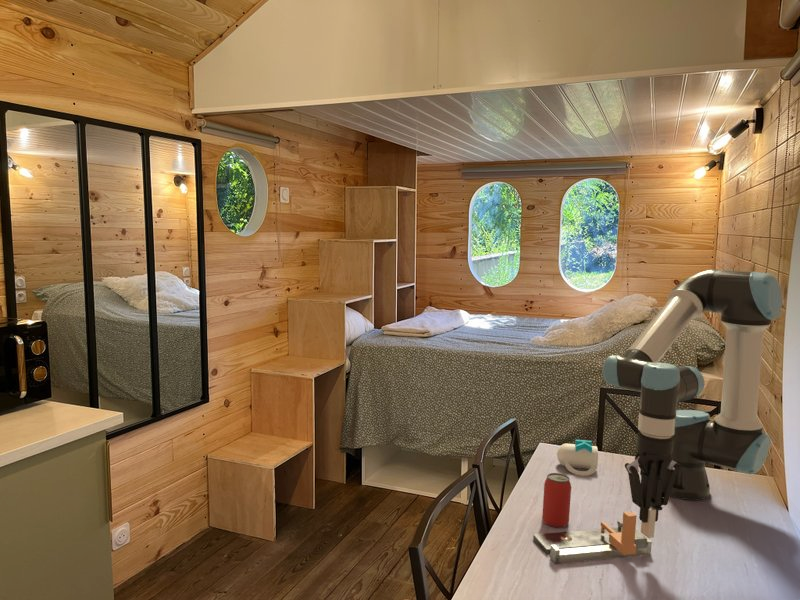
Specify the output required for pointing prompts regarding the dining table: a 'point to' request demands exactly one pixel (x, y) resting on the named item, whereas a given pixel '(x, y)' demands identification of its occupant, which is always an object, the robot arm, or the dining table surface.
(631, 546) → the block
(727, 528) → the dining table surface
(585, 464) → the mug
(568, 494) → the beer can
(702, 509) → the dining table surface
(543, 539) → the hole plate
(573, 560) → the beam
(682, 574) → the dining table surface
